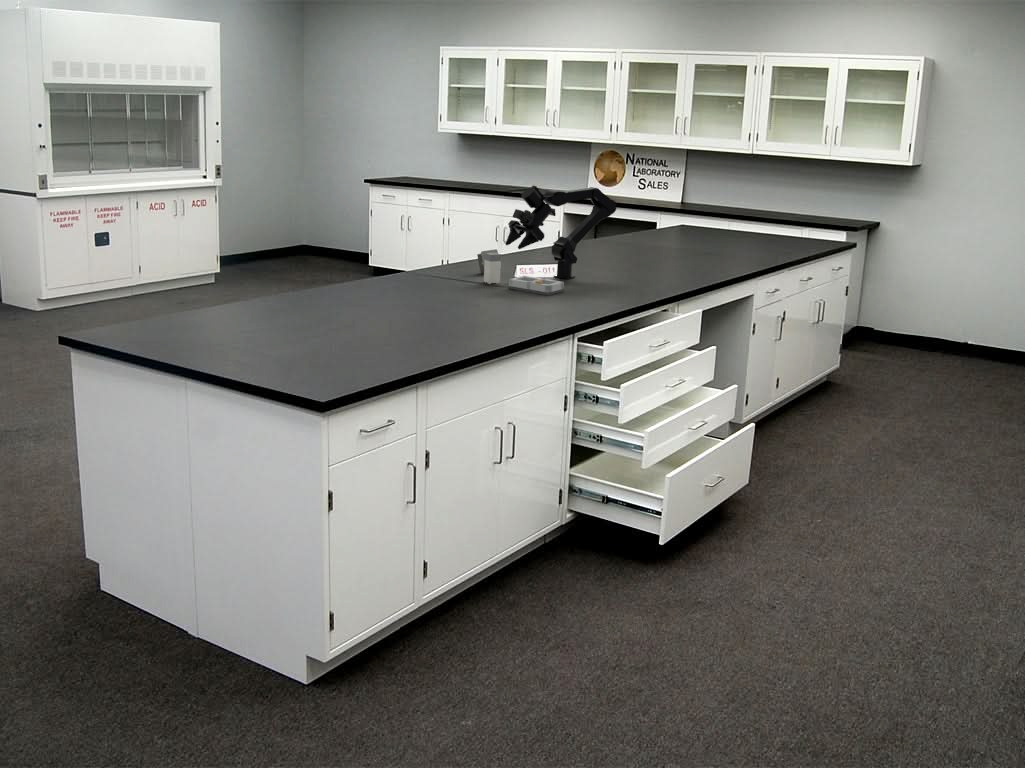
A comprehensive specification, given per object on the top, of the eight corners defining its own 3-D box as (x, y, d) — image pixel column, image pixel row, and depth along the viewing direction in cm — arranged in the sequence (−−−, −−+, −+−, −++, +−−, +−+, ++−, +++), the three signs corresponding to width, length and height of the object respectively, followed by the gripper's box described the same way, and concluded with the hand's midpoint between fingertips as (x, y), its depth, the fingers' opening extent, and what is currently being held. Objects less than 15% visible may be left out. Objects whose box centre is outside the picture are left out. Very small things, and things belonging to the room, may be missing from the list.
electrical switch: (486, 275, 400) (485, 251, 398) (476, 274, 403) (475, 251, 401) (501, 272, 407) (500, 249, 405) (491, 272, 410) (490, 248, 408)
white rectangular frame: (524, 284, 383) (524, 273, 382) (563, 291, 374) (564, 279, 373) (508, 288, 375) (508, 277, 374) (548, 295, 366) (549, 283, 364)
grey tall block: (494, 281, 388) (495, 252, 385) (499, 283, 384) (501, 254, 381) (483, 281, 386) (484, 253, 383) (489, 283, 382) (490, 254, 379)
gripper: (513, 199, 391) (487, 228, 389) (539, 204, 376) (512, 235, 373) (529, 218, 397) (504, 248, 395) (555, 225, 382) (529, 255, 380)
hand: (512, 246), depth 385 cm, fingers open, 9 cm apart
